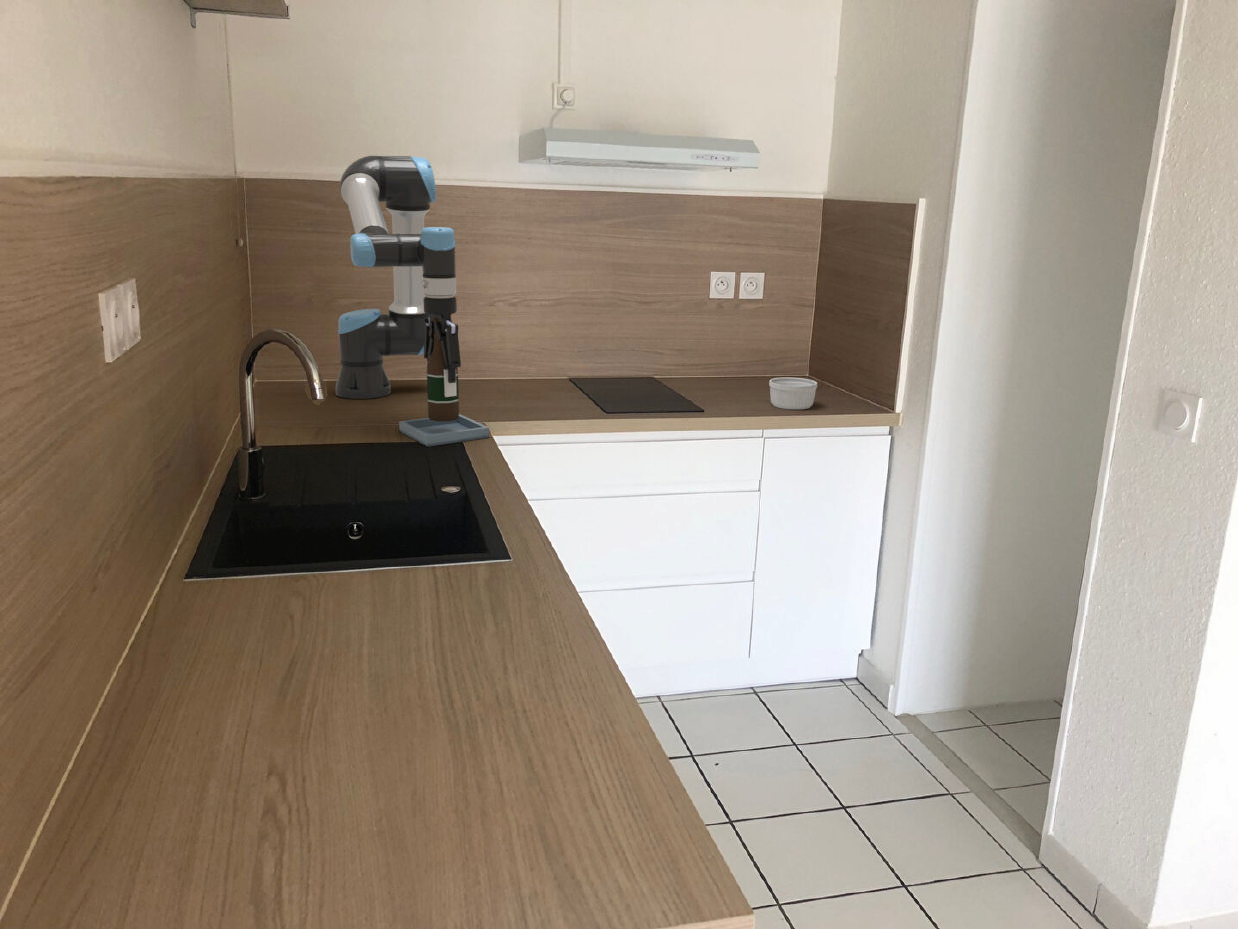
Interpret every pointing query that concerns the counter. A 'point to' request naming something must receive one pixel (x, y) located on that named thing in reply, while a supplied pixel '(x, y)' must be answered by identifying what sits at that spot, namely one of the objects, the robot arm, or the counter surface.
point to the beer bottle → (440, 387)
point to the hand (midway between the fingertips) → (442, 392)
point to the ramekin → (792, 393)
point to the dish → (443, 430)
